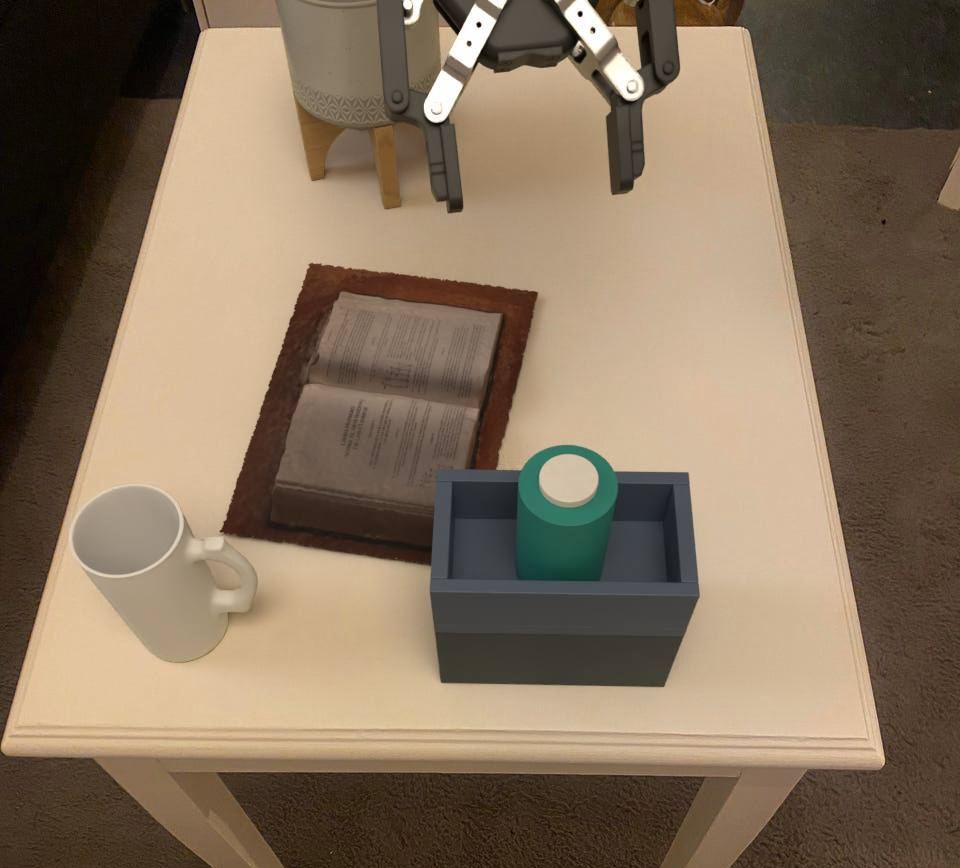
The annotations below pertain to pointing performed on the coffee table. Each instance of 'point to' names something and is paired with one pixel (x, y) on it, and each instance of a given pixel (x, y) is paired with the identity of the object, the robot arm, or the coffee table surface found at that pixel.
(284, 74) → the coffee table surface
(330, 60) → the planter
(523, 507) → the plastic bottle
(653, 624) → the open storage box
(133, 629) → the mug
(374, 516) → the book
